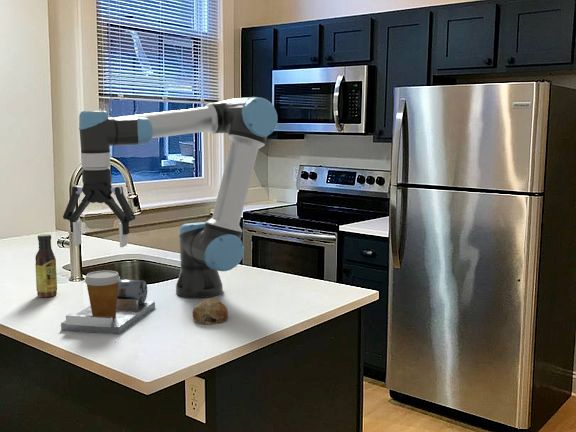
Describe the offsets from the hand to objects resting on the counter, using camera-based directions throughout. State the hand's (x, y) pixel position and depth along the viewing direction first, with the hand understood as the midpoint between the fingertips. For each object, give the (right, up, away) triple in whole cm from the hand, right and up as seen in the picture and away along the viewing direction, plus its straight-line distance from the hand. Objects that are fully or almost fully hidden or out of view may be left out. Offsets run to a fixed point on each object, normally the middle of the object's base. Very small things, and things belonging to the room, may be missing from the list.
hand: (100, 245), depth 179 cm
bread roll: (+29, -22, +7) cm, 37 cm away
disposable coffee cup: (0, -20, +3) cm, 20 cm away
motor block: (+1, -21, +7) cm, 23 cm away
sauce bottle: (-26, -18, +31) cm, 44 cm away
